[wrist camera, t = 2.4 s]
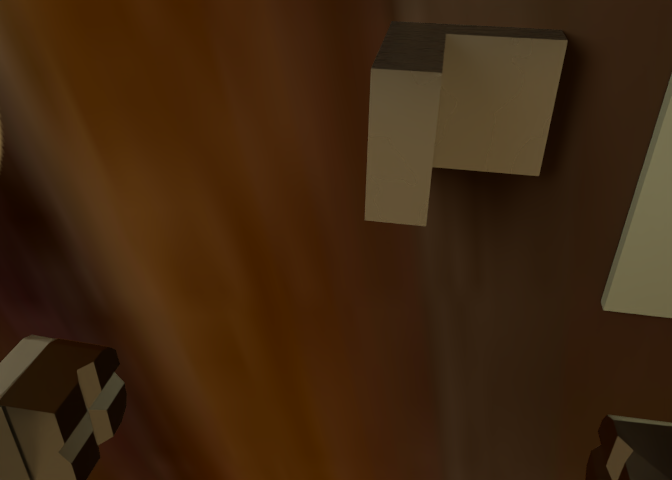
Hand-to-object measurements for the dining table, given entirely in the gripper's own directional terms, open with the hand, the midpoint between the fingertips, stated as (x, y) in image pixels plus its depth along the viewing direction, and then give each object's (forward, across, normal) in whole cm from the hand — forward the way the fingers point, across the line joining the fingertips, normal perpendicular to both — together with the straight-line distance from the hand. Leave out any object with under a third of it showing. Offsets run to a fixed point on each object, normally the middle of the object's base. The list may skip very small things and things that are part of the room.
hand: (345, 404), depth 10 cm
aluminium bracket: (+16, -2, 0) cm, 16 cm away
